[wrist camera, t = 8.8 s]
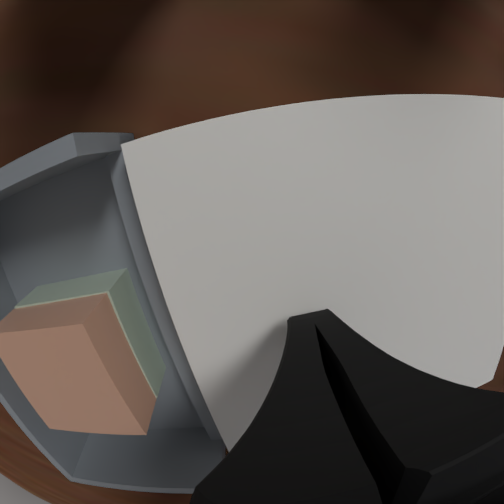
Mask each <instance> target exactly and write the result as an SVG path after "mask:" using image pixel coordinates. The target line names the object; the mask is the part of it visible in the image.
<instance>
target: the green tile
mask: <svg viewBox="0 0 504 504" xmlns="http://www.w3.org/2000/svg"><path fill="white" fill-rule="evenodd" d="M102 293H107V294H108V297H109V299H110V302H111V304H112V306H113V309H114V311H115V314H116V316H117V318H118V321H119V323H120V325H121V328H122V330H123V332H124V334H125V337H126V339H127V341H128V343H129V345H130V347H131V350H132V352H133V354H134V356H135V358H136V360H137V362H138V364H139V366H140V368H141V370H142V372H143V374H144V376H145V378H146V380H147V382H148V384H149V386H150V388H151V389H152V391H153V393H154V395H155V397H156V398H157V397H158V394H159V390H160V387H161V383H162V380H163V377H164V373H165V370H166V366H165V364H164V362H163V359H162V357H161V355H160V352H159V350H158V348H157V345H156V343H155V340H154V338H153V336H152V333H151V331H150V328H149V326H148V323H147V321H146V318H145V315H144V313H143V310H142V308H141V305H140V302H139V300H138V297H137V294H136V291H135V289H134V286H133V283H132V280H131V277H130V274H129V271H128V269H127V268H125V269H120V270H115V271H110V272H105V273H100V274H95V275H90V276H85V277H80V278H75V279H71V280H66V281H61V282H56V283H51V284H46V285H41V286H37V287H36V288H35V289H34V290H33V291H31V292H30V293H29V294H28V295H27V296H26V297H25V298H23V299H22V300H21V301H20V302H19V303H18V304H17V305H16V306H15V307H14V308H15V309H16V308H22V307H28V306H34V305H40V304H45V303H51V302H57V301H63V300H69V299H74V298H80V297H86V296H91V295H97V294H102Z"/></svg>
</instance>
